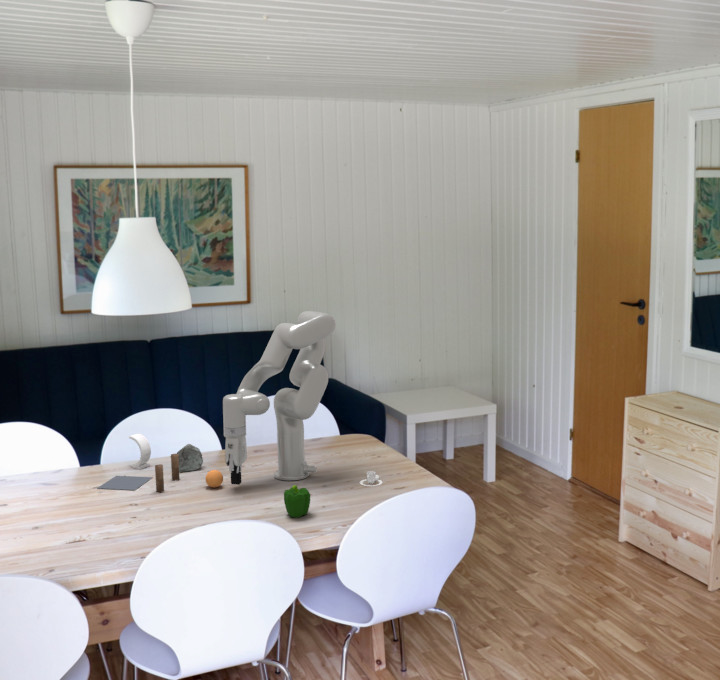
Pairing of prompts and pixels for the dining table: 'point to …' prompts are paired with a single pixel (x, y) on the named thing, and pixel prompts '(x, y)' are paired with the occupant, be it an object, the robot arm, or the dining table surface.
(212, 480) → the ball
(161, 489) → the post left
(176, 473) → the post right
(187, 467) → the stone
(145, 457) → the headphone stand
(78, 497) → the dining table surface
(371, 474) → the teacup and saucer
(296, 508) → the bell pepper
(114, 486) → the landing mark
